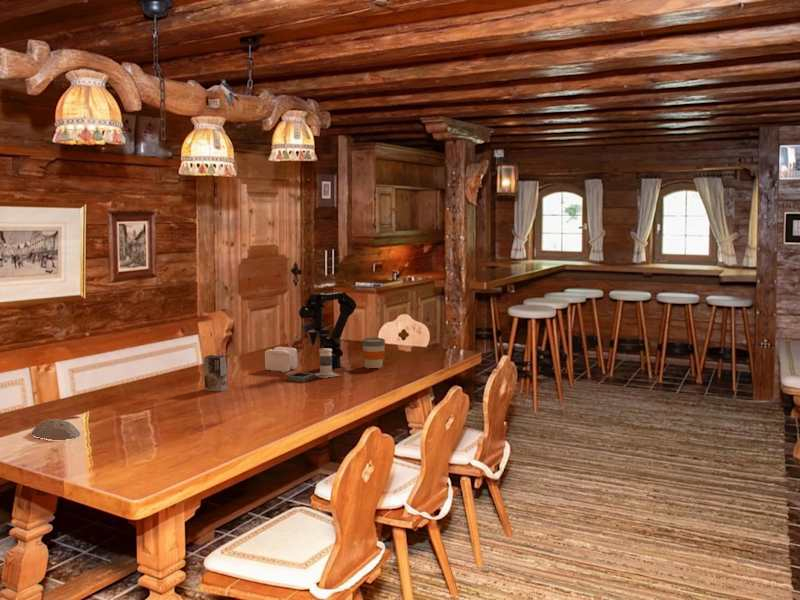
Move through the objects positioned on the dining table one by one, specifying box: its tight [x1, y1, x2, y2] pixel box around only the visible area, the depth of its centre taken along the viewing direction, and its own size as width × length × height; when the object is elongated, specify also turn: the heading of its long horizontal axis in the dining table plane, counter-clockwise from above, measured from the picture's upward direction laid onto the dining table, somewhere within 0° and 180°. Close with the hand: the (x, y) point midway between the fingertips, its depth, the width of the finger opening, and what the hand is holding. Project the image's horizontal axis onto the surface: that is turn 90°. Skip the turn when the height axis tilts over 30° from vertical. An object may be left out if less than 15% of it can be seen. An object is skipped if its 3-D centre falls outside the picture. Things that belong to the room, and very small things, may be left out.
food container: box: [31, 418, 81, 440], centre depth 294 cm, size 16×25×7 cm, turn 50°
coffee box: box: [203, 354, 229, 392], centre depth 368 cm, size 9×6×16 cm
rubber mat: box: [314, 372, 341, 379], centre depth 400 cm, size 11×11×1 cm
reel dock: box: [285, 371, 316, 383], centre depth 390 cm, size 10×10×2 cm
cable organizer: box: [264, 346, 298, 373], centre depth 414 cm, size 15×11×12 cm
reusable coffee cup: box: [361, 337, 386, 369], centre depth 421 cm, size 13×13×15 cm
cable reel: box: [318, 347, 334, 376], centre depth 399 cm, size 7×7×13 cm
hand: (317, 346), depth 411 cm, fingers open, 9 cm apart
